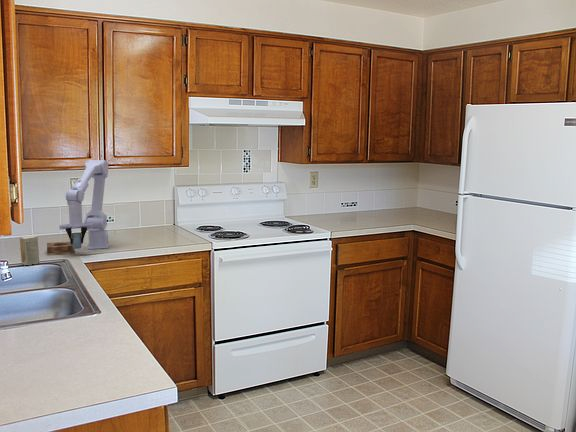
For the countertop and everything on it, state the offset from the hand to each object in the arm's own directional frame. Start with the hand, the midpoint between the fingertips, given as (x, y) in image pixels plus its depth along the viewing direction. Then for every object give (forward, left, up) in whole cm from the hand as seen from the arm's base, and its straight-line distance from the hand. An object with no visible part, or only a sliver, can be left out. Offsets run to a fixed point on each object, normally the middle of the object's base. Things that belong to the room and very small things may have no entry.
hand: (76, 243), depth 269 cm
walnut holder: (+7, -10, -6) cm, 13 cm away
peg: (0, 0, -2) cm, 2 cm away
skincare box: (+20, +13, -6) cm, 25 cm away
